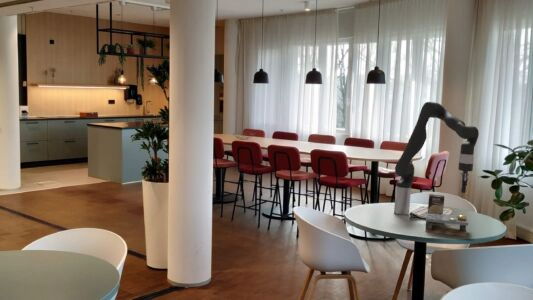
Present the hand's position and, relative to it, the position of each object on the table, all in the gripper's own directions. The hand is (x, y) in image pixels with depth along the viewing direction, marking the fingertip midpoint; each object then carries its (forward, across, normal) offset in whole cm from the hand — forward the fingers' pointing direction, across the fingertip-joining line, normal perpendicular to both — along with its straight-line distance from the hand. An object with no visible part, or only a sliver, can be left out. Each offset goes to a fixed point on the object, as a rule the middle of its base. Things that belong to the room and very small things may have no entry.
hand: (463, 192), depth 305 cm
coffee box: (+23, -19, -14) cm, 33 cm away
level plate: (+17, 0, -8) cm, 18 cm away
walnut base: (+23, 0, -8) cm, 24 cm away
